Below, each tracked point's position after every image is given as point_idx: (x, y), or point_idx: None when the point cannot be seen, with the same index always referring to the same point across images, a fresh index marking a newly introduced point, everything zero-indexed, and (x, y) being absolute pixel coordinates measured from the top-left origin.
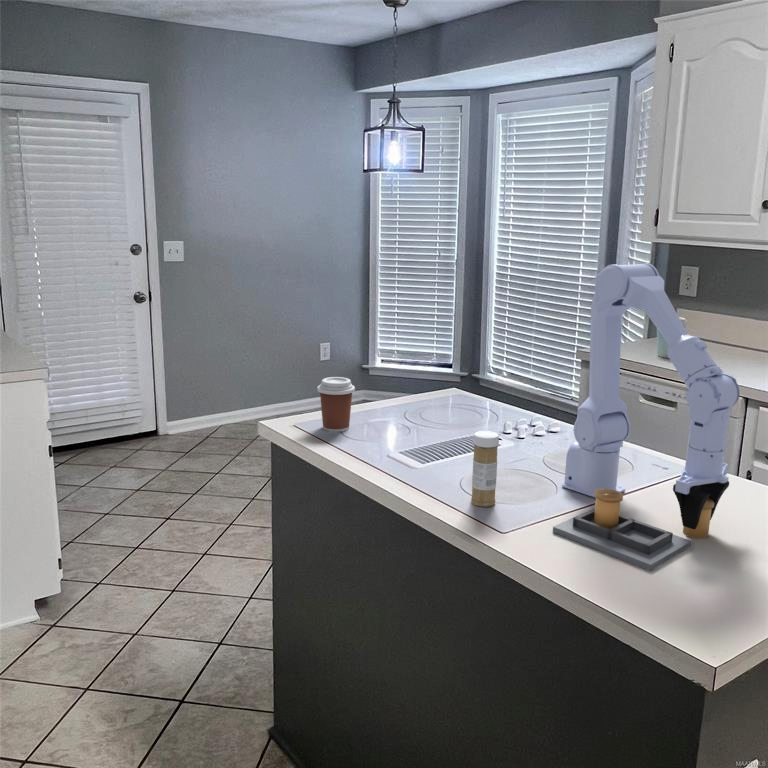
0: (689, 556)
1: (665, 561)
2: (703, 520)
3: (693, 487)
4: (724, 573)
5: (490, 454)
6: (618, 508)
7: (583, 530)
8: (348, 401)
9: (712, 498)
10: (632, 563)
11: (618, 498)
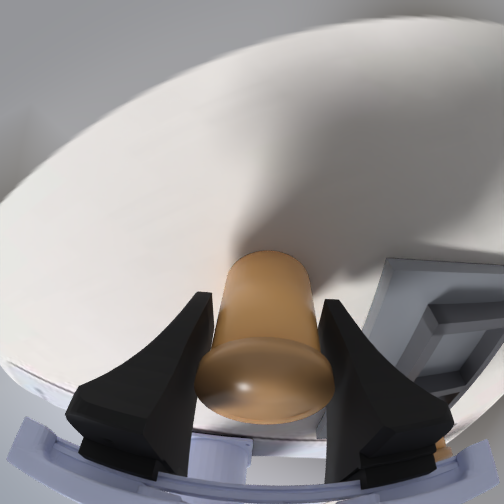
0: (452, 235)
1: (498, 265)
2: (302, 308)
3: (412, 477)
4: (496, 121)
5: None
6: None
7: None
8: None
9: (184, 372)
10: None
11: (445, 454)
